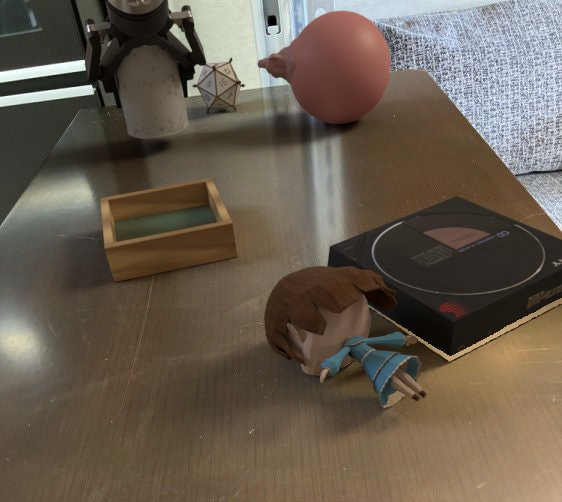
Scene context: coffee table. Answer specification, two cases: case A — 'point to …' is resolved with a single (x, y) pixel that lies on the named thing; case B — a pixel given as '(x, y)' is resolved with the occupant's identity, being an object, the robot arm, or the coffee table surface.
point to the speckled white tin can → (151, 93)
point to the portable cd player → (458, 271)
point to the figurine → (339, 327)
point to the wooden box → (166, 229)
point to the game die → (219, 85)
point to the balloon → (335, 67)
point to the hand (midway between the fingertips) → (150, 94)
